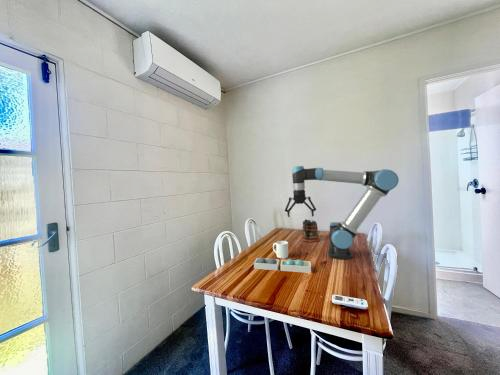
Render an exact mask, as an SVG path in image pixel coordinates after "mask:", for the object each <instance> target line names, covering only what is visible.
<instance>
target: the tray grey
mask: <svg viewBox="0 0 500 375" xmlns="http://www.w3.org/2000/svg"><path fill="white" fill-rule="evenodd" d="M259 258H260V257H257V258H256V259H255V261H254V262H253V269H254V270H266V271H267V270H268V271H279V267H280V258H279V259H278V258H276V259H275V258H274V259H275V260H276V264H267V261H268V259H269V258H265V260H266V263H257V260H258V259H259Z"/></svg>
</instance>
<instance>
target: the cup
mask: <svg viewBox="0 0 500 375" xmlns="http://www.w3.org/2000/svg"><path fill="white" fill-rule="evenodd" d="M272 250H273V253H275V254H276V258H277V259H278V258H279V259H287V258H289V242H288V241H286V240H278V241H276V242H274V243H273V244H272Z"/></svg>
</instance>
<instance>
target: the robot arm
mask: <svg viewBox="0 0 500 375" xmlns="http://www.w3.org/2000/svg"><path fill="white" fill-rule="evenodd" d="M291 175H292V176H291V177H292V189H293V192H292V193H293V197H289V198H288V202H287V204H286V206H285V208H284V212H286V213H287V217H288V218H289V223H292V215H291V210H292V209H293V208H294V207H295V205H296V204H297V205H299V204H300V205H302V204H304V205H305V206H306V207H307V208H308V209H309V210H310V211H309V212H310V213H309V214H310V220H311V222H312V220H313V217H314V215H315V214H314V212H315V211H317V208H316V207H315V204H314V203H313V201H312V199H311V196H306V190H305V189H306V186H305V184H306V183H305V181H324V182H325V181H326V182H337V183H347V184H358V185H362V186H364V187H366V190H365V191H364V193H363V194H362V195H361V197H360V198H359V200H358V201H357V202H356V203H355V206H353V208H352V209H351V211H350V212H349V214H347V216H346V218H345V219H344V220H343V221H336V222H335V221H332V222H329V226H328V227H329V246H328V249H327V255H328V257H330V258H332V259H335V260H349V259H352V258H353V257H352V256H353V254H352V251H351V248H350V247H352V245H354V239H355V238H356V236H357V235H358V229H359V228H360V226H361V225H362V223H363V222H364V221H365V219H366V218H367V217H368V215H369V214H370V213H371V211H372V210H373V209H374V208H375V206H376V205H377V204H378V202H379V201H380V199H381V198H383V197H386V196H387V195H388V194H389V192H390V191H392V190H393V189H395V188H396V187H397V186H398V185H399V176H398V174H397V173H396V172H395V171H393V170H392V169H386V168H385V169H384V168H383V169H380V170H373V171H372V170H371V171H370V170H369V171H367V170H365V171H363V172H361V171H345V170H335V169H334V170H331V169H324V168H323V167H313V168H304V165H297V166H293V167H292V172H291ZM306 200H307V201H308V202H309V203H310V205H309V204H308V203H307V202H306ZM292 201H294V202H293V203H292V204H291V202H292ZM290 204H291V205H290ZM289 206H290V207H289ZM311 206H312V207H311Z"/></svg>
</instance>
